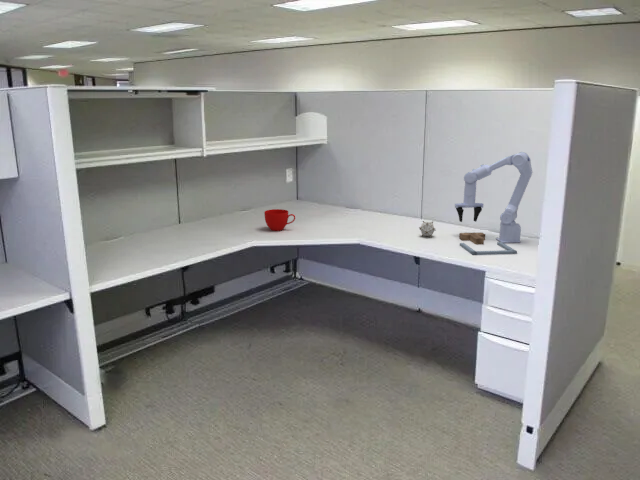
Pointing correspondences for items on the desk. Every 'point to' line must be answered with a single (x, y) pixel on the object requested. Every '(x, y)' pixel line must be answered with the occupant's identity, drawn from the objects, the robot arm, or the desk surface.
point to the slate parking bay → (507, 251)
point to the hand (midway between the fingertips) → (467, 221)
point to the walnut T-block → (473, 237)
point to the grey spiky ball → (427, 229)
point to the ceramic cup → (277, 219)
